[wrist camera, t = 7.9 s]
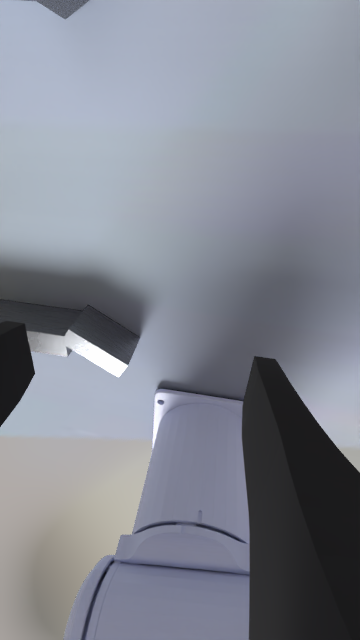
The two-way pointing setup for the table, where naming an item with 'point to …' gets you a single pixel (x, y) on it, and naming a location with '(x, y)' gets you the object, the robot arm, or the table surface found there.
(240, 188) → the table surface
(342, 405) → the table surface
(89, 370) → the table surface
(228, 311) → the table surface
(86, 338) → the grey square frame
